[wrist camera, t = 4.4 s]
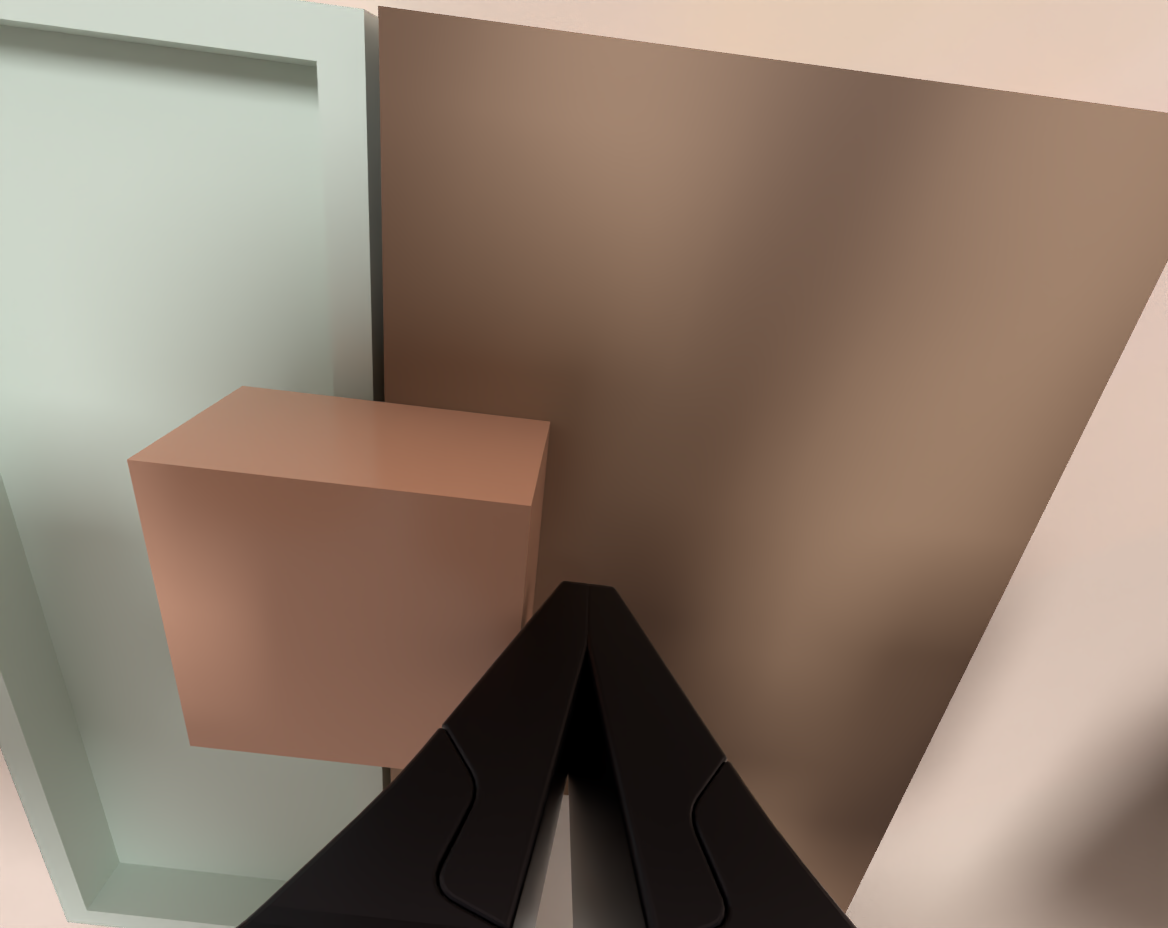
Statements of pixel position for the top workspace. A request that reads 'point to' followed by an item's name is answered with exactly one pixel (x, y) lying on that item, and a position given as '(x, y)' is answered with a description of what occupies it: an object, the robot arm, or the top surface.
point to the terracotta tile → (338, 566)
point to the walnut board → (768, 359)
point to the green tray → (164, 406)
